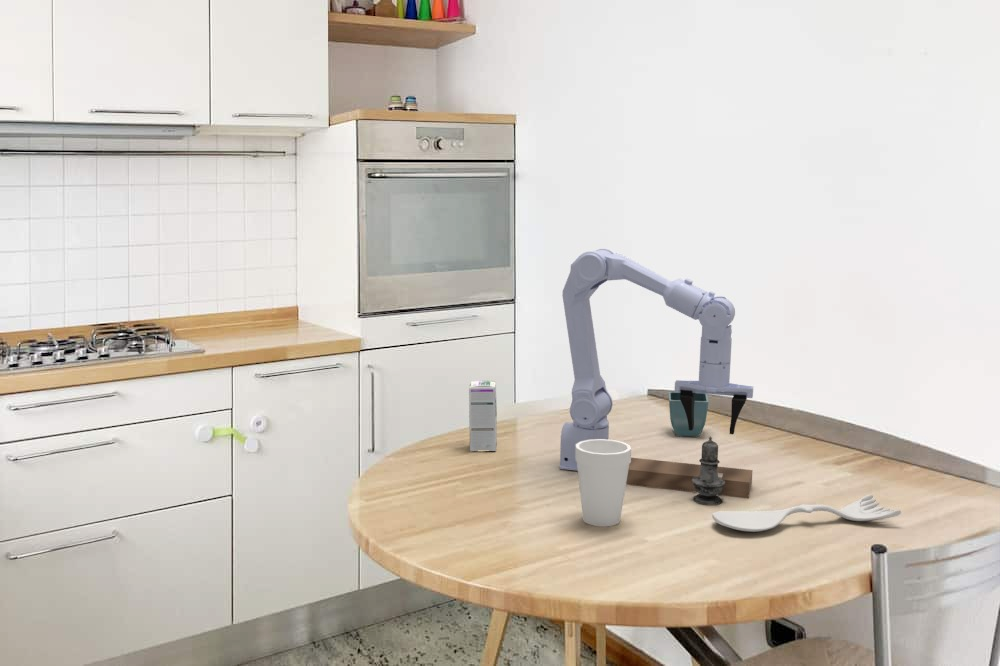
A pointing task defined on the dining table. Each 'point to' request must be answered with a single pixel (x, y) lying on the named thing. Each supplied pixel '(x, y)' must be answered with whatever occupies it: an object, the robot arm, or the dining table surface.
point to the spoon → (770, 519)
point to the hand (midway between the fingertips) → (711, 431)
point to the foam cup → (602, 479)
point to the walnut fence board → (685, 476)
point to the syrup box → (483, 415)
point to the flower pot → (680, 417)
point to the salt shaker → (708, 476)
